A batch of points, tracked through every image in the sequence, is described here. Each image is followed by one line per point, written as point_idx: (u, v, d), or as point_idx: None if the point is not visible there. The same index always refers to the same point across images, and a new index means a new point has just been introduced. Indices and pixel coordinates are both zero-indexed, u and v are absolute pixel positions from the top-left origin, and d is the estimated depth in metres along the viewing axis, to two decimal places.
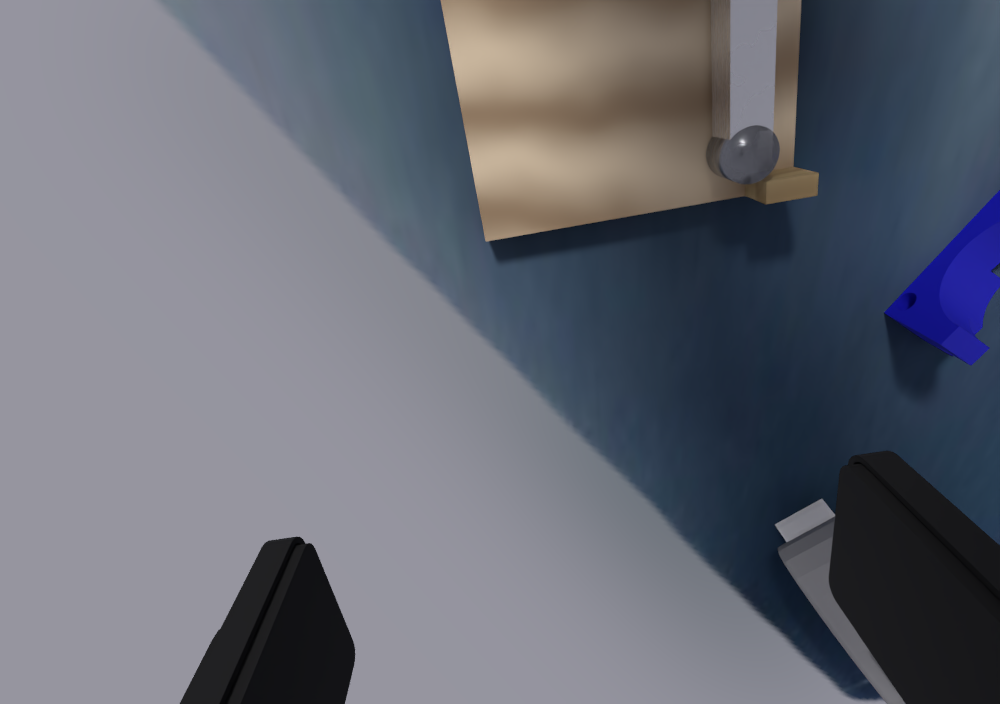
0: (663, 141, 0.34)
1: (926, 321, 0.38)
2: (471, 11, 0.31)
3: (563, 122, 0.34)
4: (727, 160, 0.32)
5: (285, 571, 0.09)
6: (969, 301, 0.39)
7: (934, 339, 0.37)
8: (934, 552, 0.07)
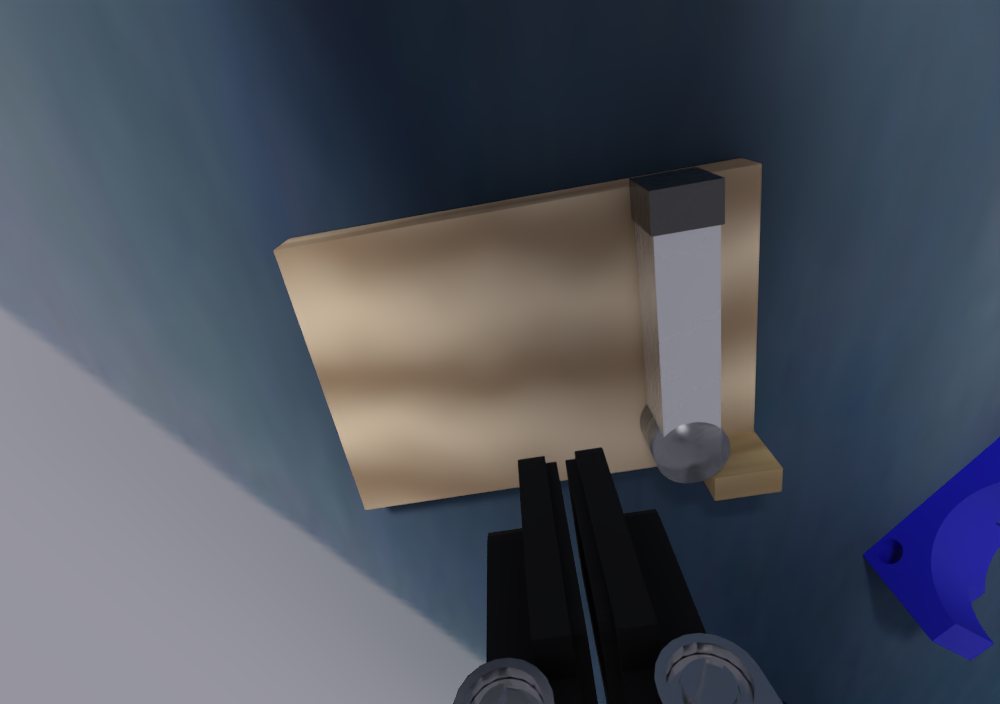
0: (584, 405, 0.27)
1: (915, 594, 0.30)
2: (317, 266, 0.23)
3: (452, 386, 0.26)
4: (661, 459, 0.24)
5: (551, 481, 0.10)
6: (968, 560, 0.31)
7: (924, 629, 0.29)
8: (583, 531, 0.09)
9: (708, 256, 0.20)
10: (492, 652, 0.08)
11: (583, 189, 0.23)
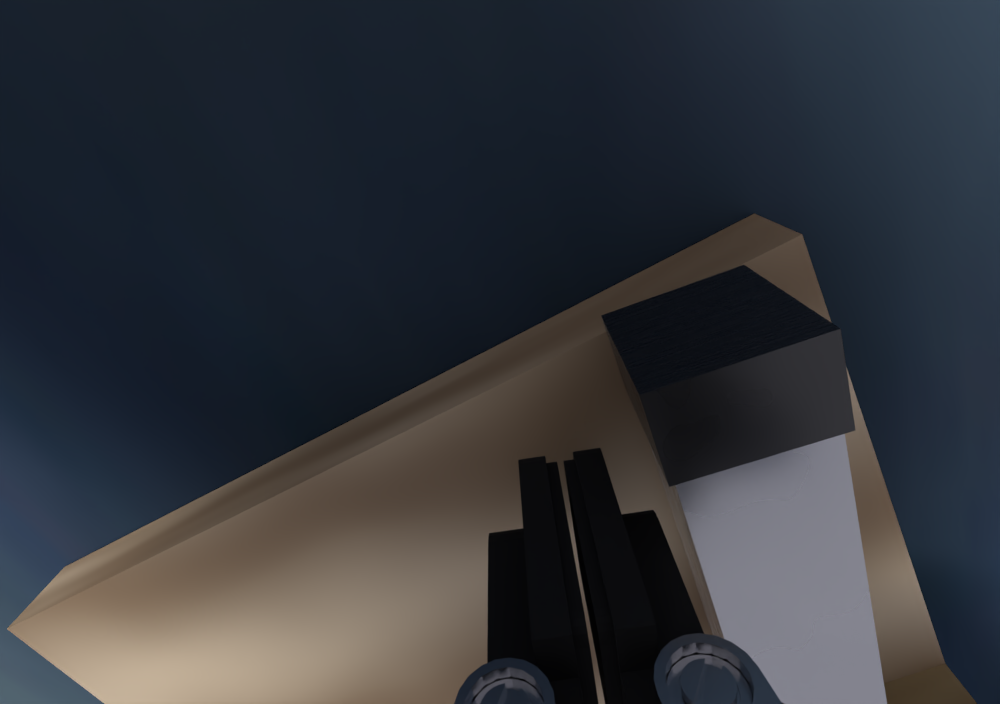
0: None
1: None
2: (84, 631, 0.14)
3: None
4: None
5: (552, 481, 0.10)
6: None
7: None
8: (581, 532, 0.09)
9: (821, 498, 0.08)
10: (493, 652, 0.08)
11: (467, 374, 0.12)
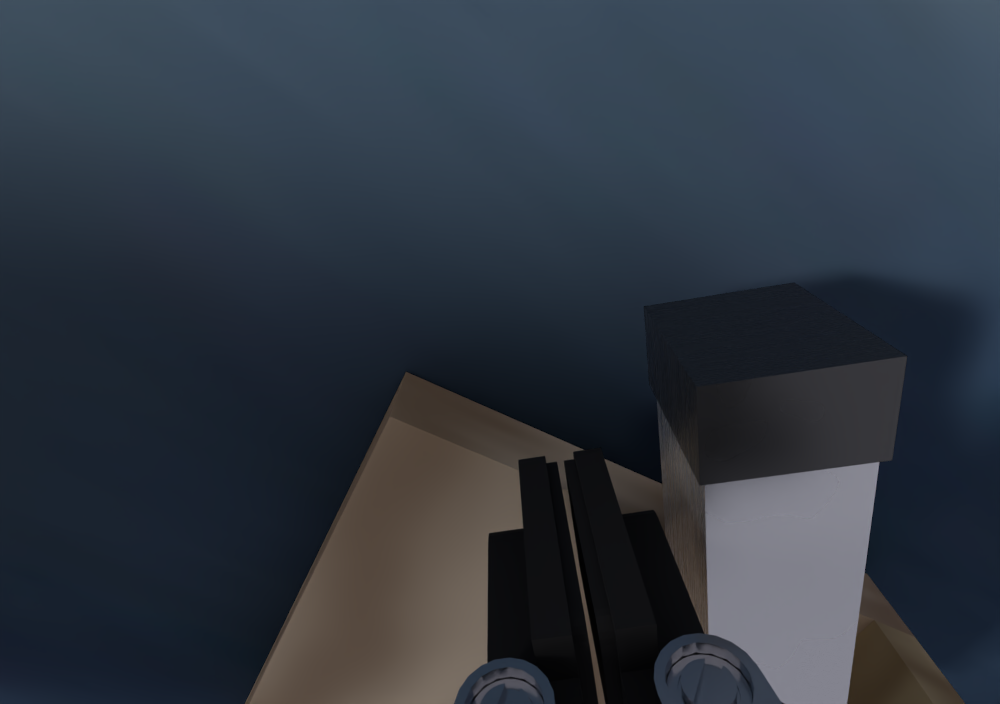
0: None
1: None
2: None
3: None
4: None
5: (552, 481, 0.10)
6: None
7: None
8: (581, 532, 0.09)
9: (839, 522, 0.08)
10: (493, 652, 0.08)
11: (301, 589, 0.15)
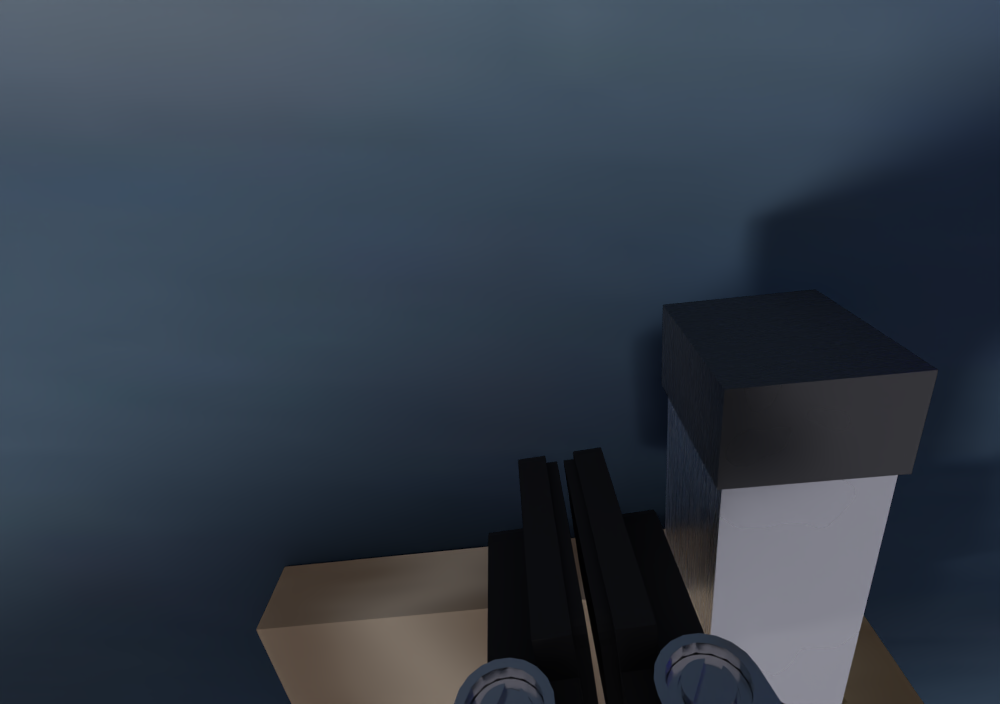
0: None
1: None
2: None
3: None
4: None
5: (552, 481, 0.10)
6: None
7: None
8: (581, 532, 0.09)
9: (852, 533, 0.08)
10: (493, 652, 0.08)
11: None
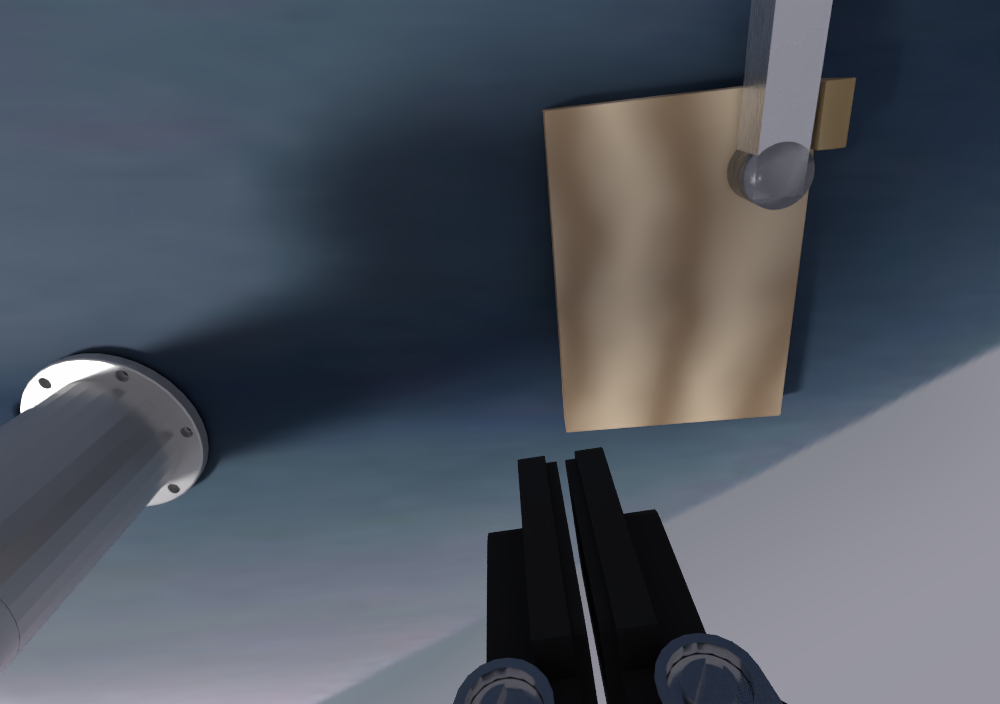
0: (726, 243, 0.32)
1: None
2: (580, 411, 0.37)
3: (684, 341, 0.34)
4: (752, 179, 0.27)
5: (551, 481, 0.10)
6: None
7: None
8: (582, 531, 0.09)
9: None
10: (492, 652, 0.08)
11: (552, 236, 0.33)
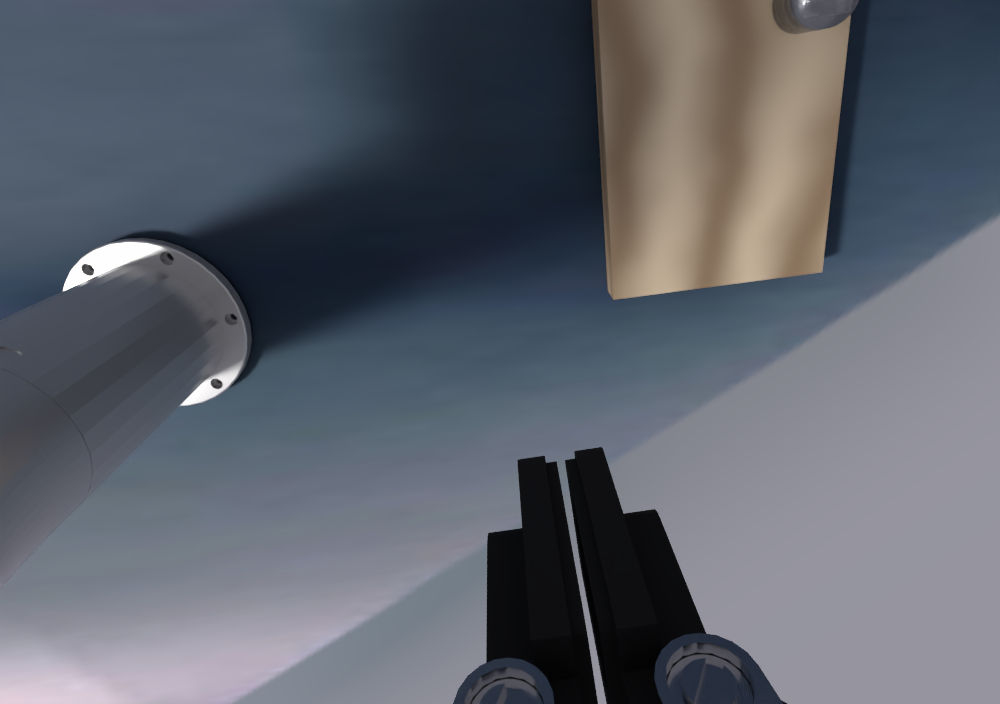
0: (770, 85, 0.32)
1: None
2: (626, 275, 0.37)
3: (729, 194, 0.35)
4: None
5: (552, 481, 0.10)
6: None
7: None
8: (583, 531, 0.09)
9: None
10: (492, 652, 0.08)
11: (598, 88, 0.34)
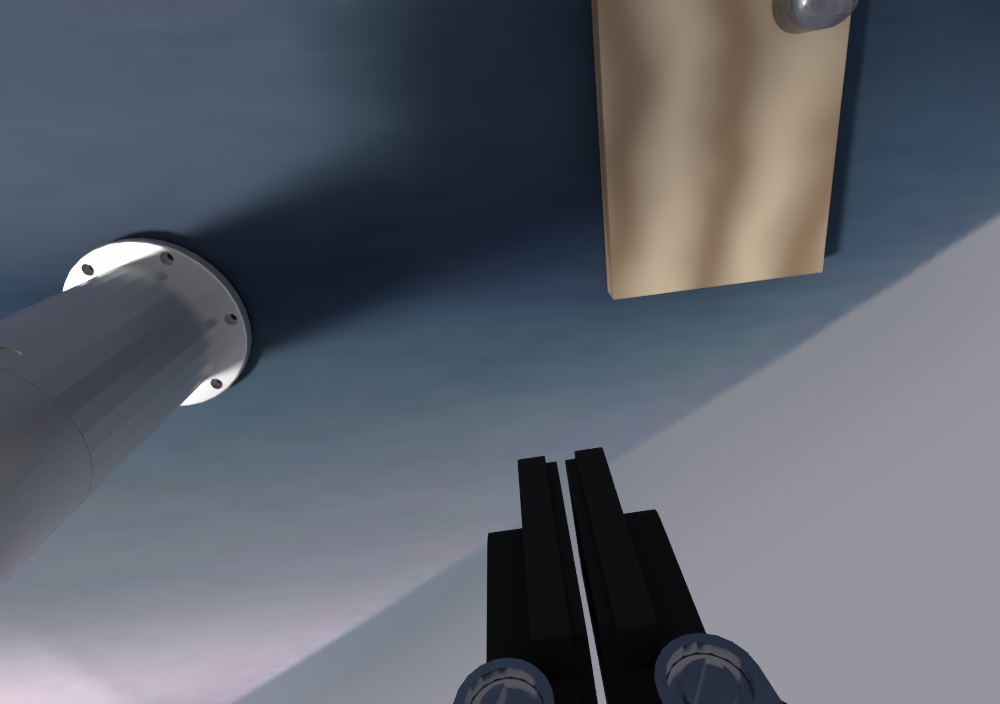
0: (770, 85, 0.32)
1: None
2: (626, 275, 0.37)
3: (729, 194, 0.35)
4: None
5: (552, 481, 0.10)
6: None
7: None
8: (583, 531, 0.09)
9: None
10: (492, 652, 0.08)
11: (598, 88, 0.34)
